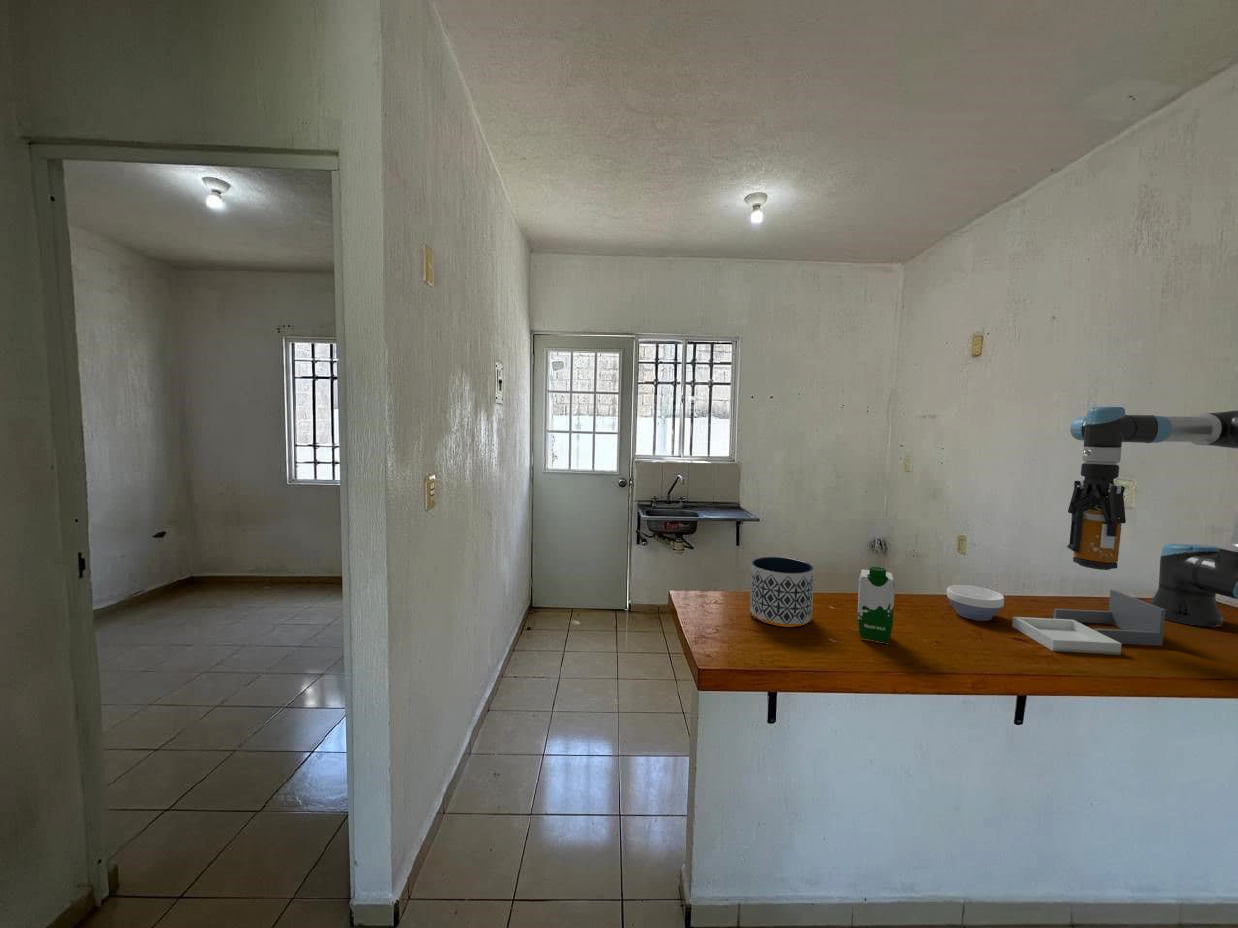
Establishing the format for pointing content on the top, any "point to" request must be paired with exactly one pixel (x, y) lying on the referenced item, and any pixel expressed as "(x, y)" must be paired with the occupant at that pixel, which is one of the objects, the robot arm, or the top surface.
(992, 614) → the bowl
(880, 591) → the milk carton
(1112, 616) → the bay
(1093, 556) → the canister
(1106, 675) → the top surface
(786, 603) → the planter
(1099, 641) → the tray
